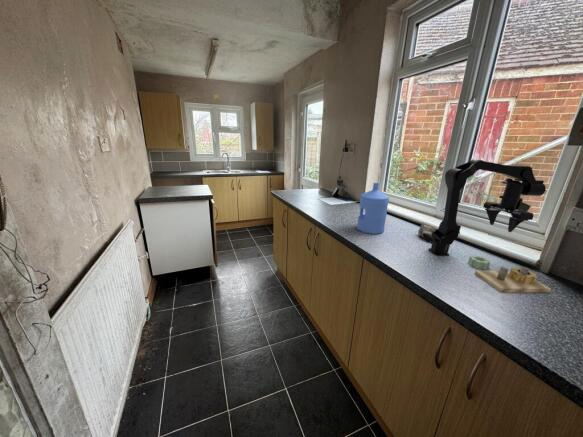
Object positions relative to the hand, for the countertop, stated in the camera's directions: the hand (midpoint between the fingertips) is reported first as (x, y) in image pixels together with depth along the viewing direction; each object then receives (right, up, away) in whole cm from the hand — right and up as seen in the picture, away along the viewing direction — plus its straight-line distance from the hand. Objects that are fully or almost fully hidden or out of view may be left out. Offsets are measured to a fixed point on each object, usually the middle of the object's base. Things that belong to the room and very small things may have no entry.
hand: (500, 228), depth 106 cm
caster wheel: (-20, -7, +22) cm, 31 cm away
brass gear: (-8, -19, -18) cm, 27 cm away
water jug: (-48, -3, +34) cm, 59 cm away
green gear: (-14, -16, -5) cm, 22 cm away
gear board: (-12, -20, -17) cm, 29 cm away
